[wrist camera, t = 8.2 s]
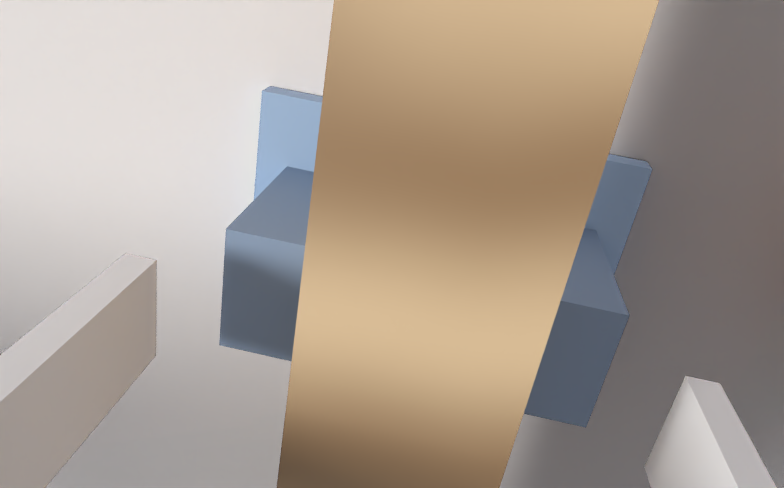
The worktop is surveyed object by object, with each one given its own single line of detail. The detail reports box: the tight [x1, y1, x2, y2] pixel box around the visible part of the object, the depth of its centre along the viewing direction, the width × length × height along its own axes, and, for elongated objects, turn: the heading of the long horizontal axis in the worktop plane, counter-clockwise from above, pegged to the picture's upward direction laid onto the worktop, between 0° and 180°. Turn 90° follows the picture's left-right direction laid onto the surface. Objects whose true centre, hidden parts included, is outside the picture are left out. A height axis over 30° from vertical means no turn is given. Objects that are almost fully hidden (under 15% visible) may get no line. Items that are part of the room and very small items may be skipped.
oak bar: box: [277, 0, 659, 488], centre depth 14 cm, size 24×4×5 cm, turn 170°
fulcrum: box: [219, 86, 652, 427], centre depth 19 cm, size 12×8×6 cm, turn 80°
